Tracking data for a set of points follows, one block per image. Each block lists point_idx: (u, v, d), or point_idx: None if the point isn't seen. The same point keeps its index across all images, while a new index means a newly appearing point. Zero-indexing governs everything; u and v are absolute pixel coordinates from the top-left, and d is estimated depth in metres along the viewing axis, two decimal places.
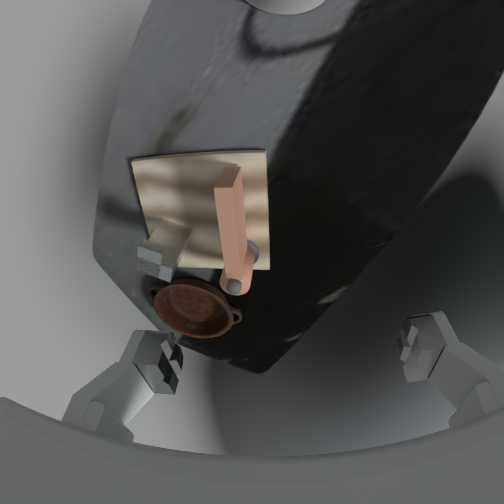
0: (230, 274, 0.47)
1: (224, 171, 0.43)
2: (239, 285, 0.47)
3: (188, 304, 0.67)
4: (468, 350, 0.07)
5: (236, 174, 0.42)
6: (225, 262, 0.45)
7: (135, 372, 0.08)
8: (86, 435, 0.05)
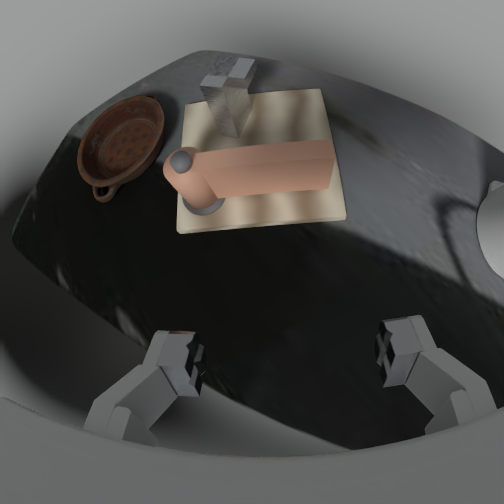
0: (200, 158, 0.32)
1: None
2: (185, 167, 0.31)
3: (123, 139, 0.47)
4: (446, 355, 0.07)
5: (330, 176, 0.34)
6: (221, 151, 0.32)
7: (160, 374, 0.08)
8: (86, 435, 0.05)
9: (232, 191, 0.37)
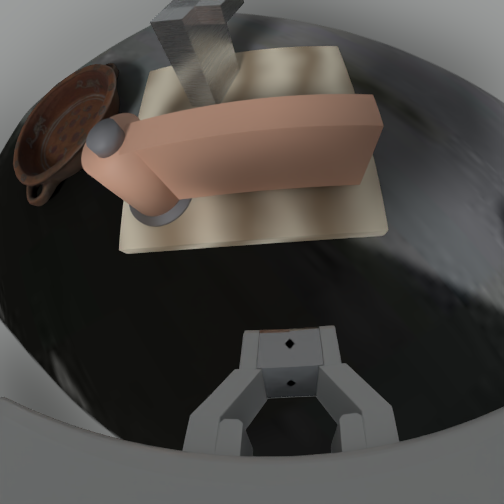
0: (137, 129, 0.17)
1: None
2: (107, 145, 0.16)
3: (71, 121, 0.31)
4: (352, 372, 0.07)
5: None
6: (172, 115, 0.16)
7: (260, 378, 0.08)
8: (86, 435, 0.05)
9: (199, 187, 0.22)
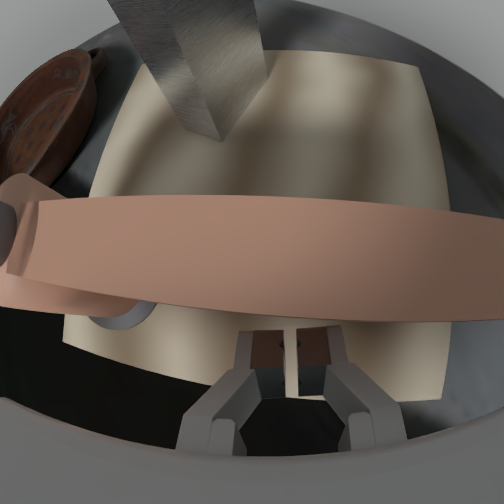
0: (31, 223, 0.07)
1: None
2: None
3: (42, 122, 0.22)
4: (359, 371, 0.07)
5: None
6: (84, 205, 0.07)
7: (253, 378, 0.08)
8: (86, 435, 0.05)
9: None
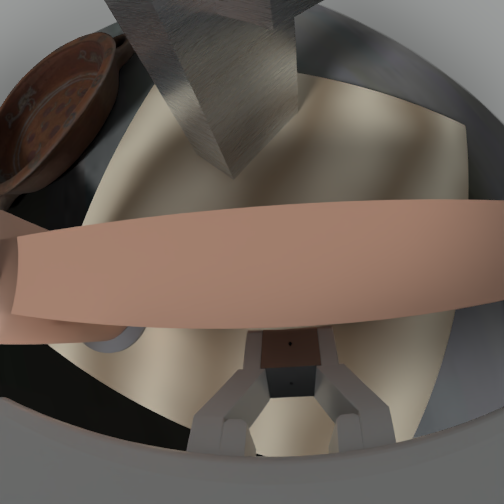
0: (12, 260, 0.07)
1: None
2: None
3: (60, 105, 0.22)
4: (349, 372, 0.07)
5: None
6: (59, 237, 0.07)
7: (263, 378, 0.08)
8: (86, 435, 0.05)
9: None
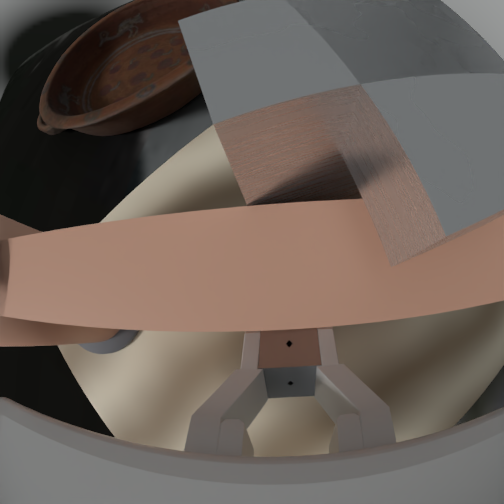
0: (4, 262, 0.07)
1: None
2: None
3: (159, 50, 0.21)
4: (350, 372, 0.07)
5: None
6: (49, 239, 0.07)
7: (261, 378, 0.08)
8: (86, 435, 0.05)
9: None
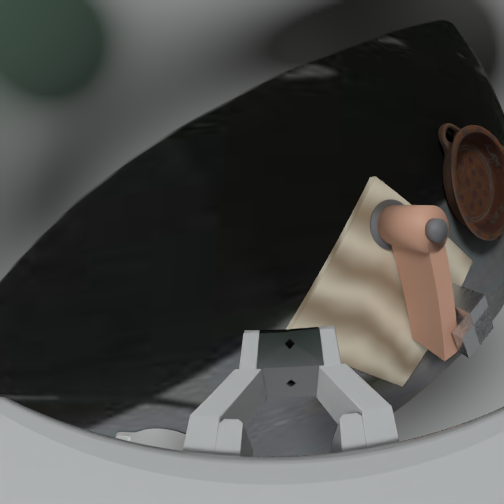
0: (440, 246, 0.26)
1: None
2: (433, 240, 0.25)
3: (480, 185, 0.36)
4: (352, 372, 0.07)
5: (425, 346, 0.33)
6: (447, 265, 0.27)
7: (260, 378, 0.08)
8: (86, 435, 0.05)
9: (402, 263, 0.33)
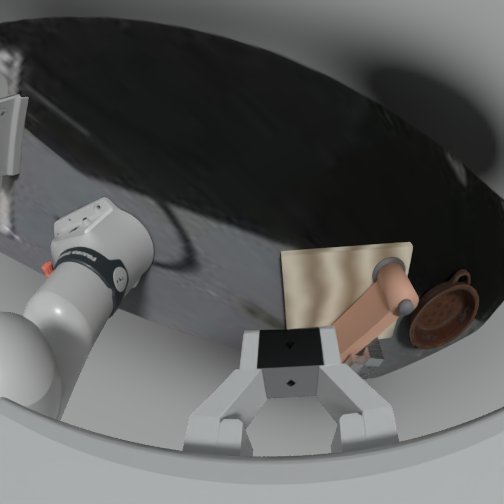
0: (397, 314, 0.42)
1: None
2: (399, 309, 0.40)
3: (441, 314, 0.54)
4: (352, 372, 0.07)
5: None
6: (388, 325, 0.43)
7: (260, 378, 0.08)
8: (86, 435, 0.05)
9: (371, 295, 0.48)
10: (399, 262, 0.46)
